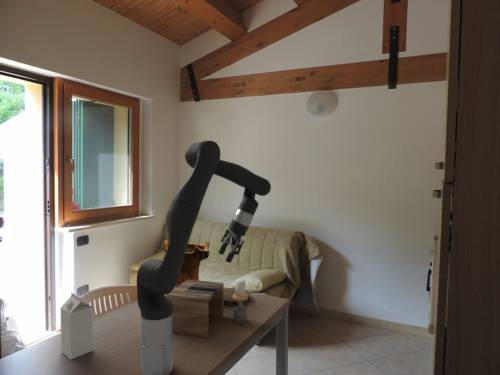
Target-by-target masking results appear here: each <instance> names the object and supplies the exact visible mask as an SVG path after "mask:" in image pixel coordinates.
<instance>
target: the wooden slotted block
mask: <svg viewBox="0 0 500 375" xmlns="http://www.w3.org/2000/svg"><path fill="white" fill-rule="evenodd" d="M224 289H225V288H224V282H220V281H219V282H217V281H207V280H200V279H199V280H188V279H187V280H186V281H185V282H183V283H182V284H180V285H179V286H178V287H176V286H175V288H174V289H173V290H172V291H171V292H170V293H169V294H166V297H167V298H168V299H169V300H170V301H171V302H172V304H173V334H174V333H176V334H183V335H188V336H196V337H203V338H207V337H209V335H210V334H209V333H210V332H209V326H210V325H209V323H210V322H209V317H211V318H219V319H220V318H221V319H223V318H224Z"/></svg>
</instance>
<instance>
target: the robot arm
mask: <svg viewBox="0 0 500 375" xmlns="http://www.w3.org/2000/svg"><path fill="white" fill-rule="evenodd" d="M184 158H185V161H186V163H187V165H188V166H189V167H191V168H192V169H193V170H192V172H191V174H190V175H189V177H188V178H187V180H186V181H185V182H184V183H183V184H182V186H181V187H180V188H179V190H177V192H176V193H175V194H174V196H173V198H172V200H171V201H170V202H171V203H170V205H169V207H168V210H167V213H166V216H165V217H166V218H165V219H166V220H165V223H166V232H167V237H168V240H167V241H168V246H167V250H166V253H165V254H164V256H163V259H162V260H161V259H160V260H159V259H155V258H147V259H146V260H144V261H143V262H142V263H141V264H140V265H139V267H138V270H137V273H136V295H137V296H136V297H137V305H138V306H137V307H138V309H139V310H140V350H141V351H140V357H141V358H140V363H141V364H140V365H141V366H140V367H141V369H140V370H141V371H140V373H141V375H170V374H171V373H172V372H173V370H174V332H173V304H172V302H171V301H170V300H169V299H168V298H167V294H169V293H170V292H171V291H172V290H174V289H175V288H176V284H177V282H178V279H179V276H180V272H181V268H182V264H183V260H184V256H185V252H186V248H187V245H188V243H190V242H189V241H190V240H191V239H190V238H191V234H192V232H193V229H194V226H195V224H196V222H197V219H198V216H199V213H200V210H201V206H202V204H203V201H204V199H205V196H206V193H207V189H208V187H209V185H210V182H211V180H212V179H213V178H212V177H213V176H214V175H215V176H218V177H220V178H223V179H225V180H227V181H230V182H232V183H233V184H236V185H237V186H240V187H242V188H244V190H243V195H242V200H241V202H240V204H239V206H238V208H237V209H236V211H235V213H234V214H233V217H232V219H231V221H230V223H229V226H228V229H227V228H226V229H225V231H224V233H223V235H222V238H221V240H220V242H221V246H220V248H219V251H218V254H219V255H224V254H225V252H226V250H227V247H228V246H229V248H230V249H229V252H228V255H227V256H226V259H225V262H226V263H229V264H231V263H232V261H233V259H234V257H235V256H236V255H238V256H239V254H240V252H241V249H242V247H243V245H244V242H245V240H243V239H242V237H245V236H246V234H247V232H248V230H249V228H250V227H251V224H252V222H253V219H254V216H255V214H256V212H257V209H258V208H259V201H257V200H256V195H257V196H260V197H265V196H267V195H269V194H270V192H271V190H272V184H271V182H270V181H269V180H268V179H267V178H264V177H262V176H260V175H258V174H255V173H253V171H251V170H249V169H248V168H246V167H244V166H242V165H240V164H237V163H233V162H230V161H226V160H223V159H221V148H220V146H219V144H218V143H217V142H216V141H213V140H204V141H198V142H195V143H192V144H190V145H188V147H186V149H185V151H184Z"/></svg>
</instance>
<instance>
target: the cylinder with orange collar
mask: <svg viewBox="0 0 500 375" xmlns="http://www.w3.org/2000/svg"><path fill="white" fill-rule="evenodd" d="M234 284H235V285H234V286H235V287H234V288H235V294H233V299H234V300H236V301H238V306H235V307H234V308H233V323H234V324H235V325H244V324H247V308H246V307H244V306H243V305H242V301H244V300H247V299H248V295H247V294H245V290H246V280H241V279H240V280H236V281H235V282H234Z"/></svg>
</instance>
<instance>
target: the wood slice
mask: <svg viewBox="0 0 500 375" xmlns="http://www.w3.org/2000/svg"><path fill="white" fill-rule="evenodd" d="M233 294H235V287H228V288H227V287H226V288H224V306H225V307H238V301H236V300H234V299H233ZM245 294H247V295H248V299H247V300H244V301H242V306H244V305H246V304H249V302H250V300H251V295H250V291H248V290H247V289H245Z"/></svg>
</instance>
